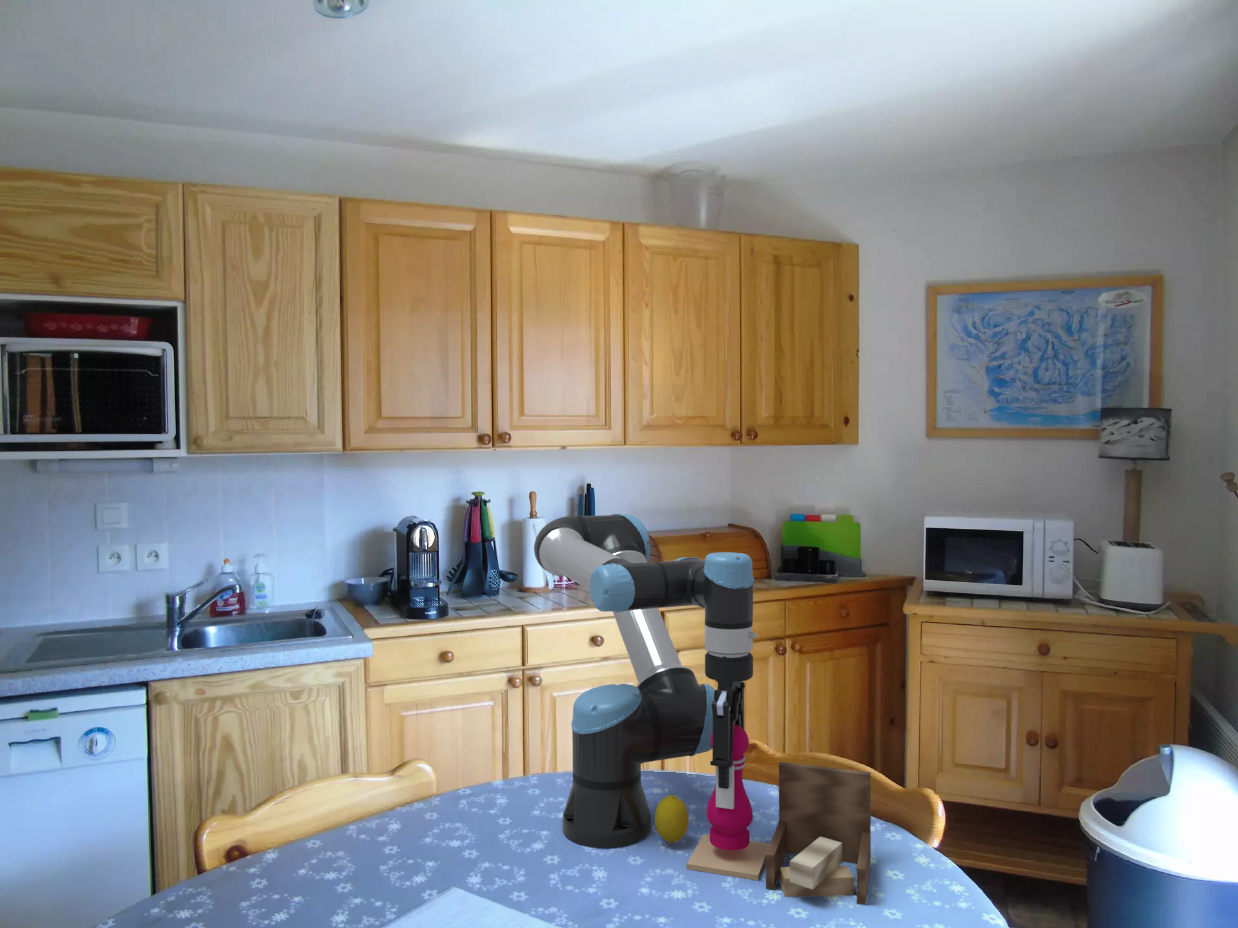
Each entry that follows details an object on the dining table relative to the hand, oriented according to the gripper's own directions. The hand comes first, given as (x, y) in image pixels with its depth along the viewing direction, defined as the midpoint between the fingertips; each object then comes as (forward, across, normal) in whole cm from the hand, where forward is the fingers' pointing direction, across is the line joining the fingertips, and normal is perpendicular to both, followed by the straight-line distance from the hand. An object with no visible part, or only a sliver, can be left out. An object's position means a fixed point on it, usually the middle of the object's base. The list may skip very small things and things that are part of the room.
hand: (729, 799), depth 134 cm
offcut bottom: (+10, -6, -14) cm, 18 cm away
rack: (+9, 0, -14) cm, 17 cm away
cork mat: (+9, 0, 0) cm, 9 cm away
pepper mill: (+7, 0, 0) cm, 7 cm away
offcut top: (+7, -5, -14) cm, 17 cm away
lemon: (+10, +2, +10) cm, 14 cm away
